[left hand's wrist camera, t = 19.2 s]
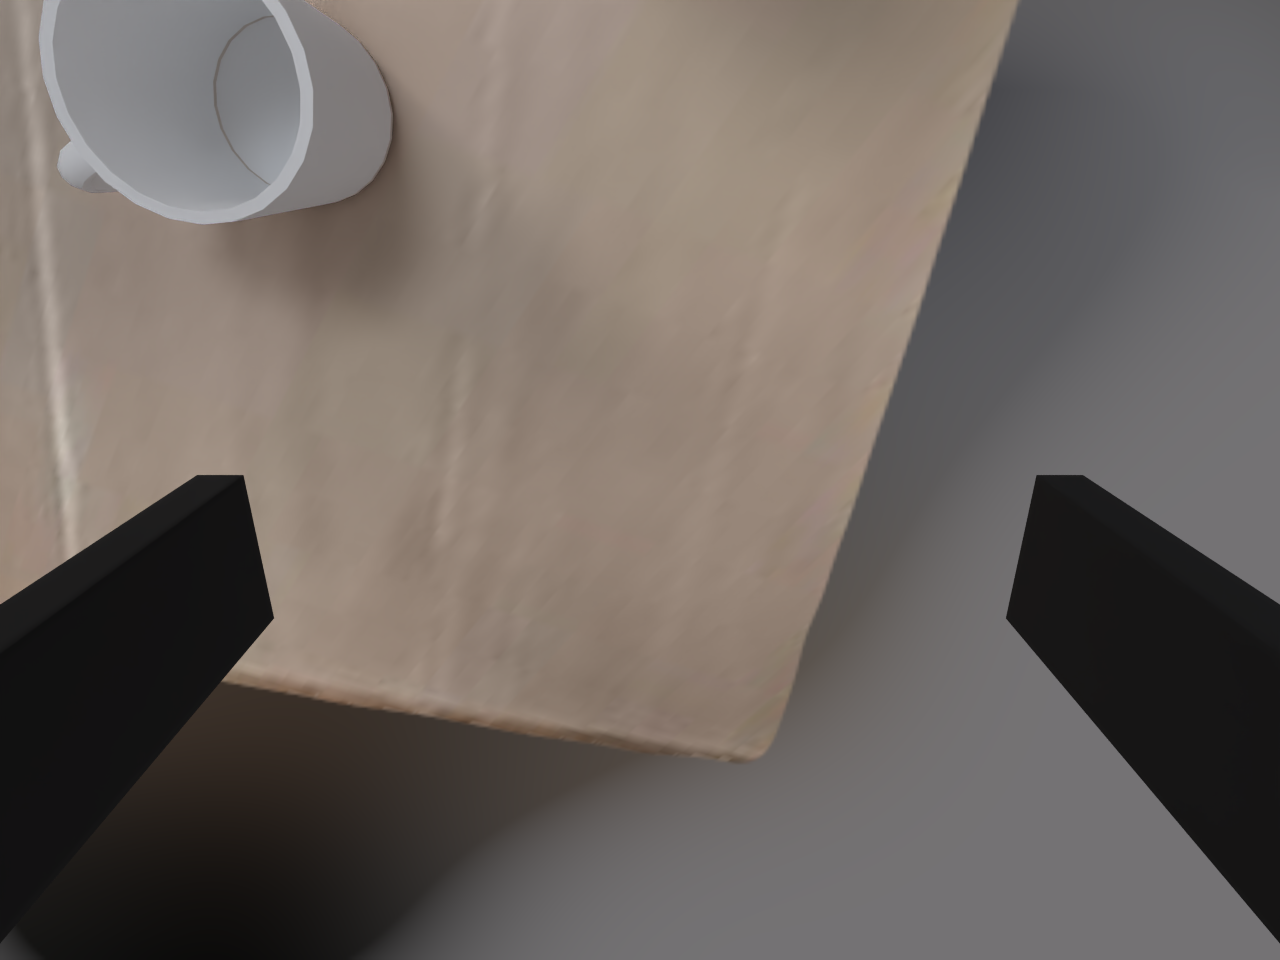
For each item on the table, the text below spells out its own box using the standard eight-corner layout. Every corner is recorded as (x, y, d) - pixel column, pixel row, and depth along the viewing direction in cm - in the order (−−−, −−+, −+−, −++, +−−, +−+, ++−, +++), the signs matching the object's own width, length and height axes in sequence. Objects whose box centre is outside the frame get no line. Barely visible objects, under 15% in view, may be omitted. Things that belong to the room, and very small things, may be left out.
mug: (327, -44, 32) (194, -142, 22) (441, 155, 35) (367, 145, 25) (132, 89, 34) (-68, 51, 24) (256, 267, 37) (121, 297, 27)
